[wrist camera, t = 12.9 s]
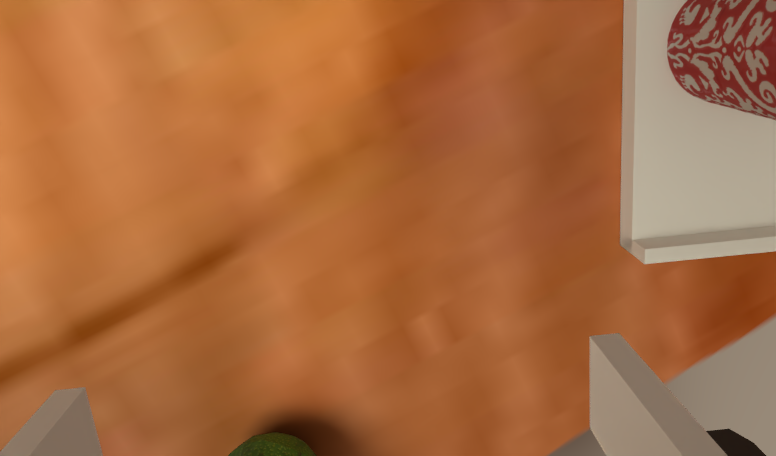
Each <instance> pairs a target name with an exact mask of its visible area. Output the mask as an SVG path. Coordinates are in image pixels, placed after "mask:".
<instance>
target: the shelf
mask: <svg viewBox="0 0 776 456" xmlns="http://www.w3.org/2000/svg"><path fill="white" fill-rule="evenodd" d="M686 1H687V0H624V17H623V82H622V147H621V211H620V245H621V246H622V247H623V248H624V249H626V250H627V251H628V252H630V253H631V254H632V255H633V256H635V257H636V258H637V259H639V260H640V261H641V262H642V263H644V264H651V263H661V262H671V261H681V260H692V259H702V258H712V257H722V256H732V255H742V254H752V253H763V252H773V251H776V120H772V119H769V118H766V117H762V116H758V115H754V114H751V113H746V112H743V111H739V110H736V109H733V108H729V107H725V106H721V105H718V104H713V103H710V102H706V101H703V100H701V99H699V98H696V97H694V96H693V95H691V94H689V93H688V92H687V91H685V90H684V89H683V88H682V87H681V86H680V85H679V83H678V82H677V81H676V80H675V77H674V75H673V74H672V71H671V69H670V66H669V62H668V58H667V44H668V42H667V39H668V35H669V32H670V29H671V25H672V23H673V21H674V18H675V16H676V15H677V13H678V12H679V10H680V9H681V7H682V6H683V5H684V4H685V3H686Z"/></svg>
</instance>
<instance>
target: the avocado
mask: <svg viewBox="0 0 776 456" xmlns="http://www.w3.org/2000/svg"><path fill="white" fill-rule="evenodd" d="M228 456H316V455H315V453H314V452H313V451H312V450H311V448H310V447H309V446H308V445H307V444H306V443H305V442H304V441H302V440H301V439H299V438H297V437H295V436H292V435H288V434H283V433H277V432H273V433H267V434H262V435H256V436H253V437H251V438H250V439H248V440H247V441H245V442H244V443H243V444H241V445H240V446H238V447H237V448H236V449H235V450H234V451H233V452H231V453H230V454H229V455H228Z"/></svg>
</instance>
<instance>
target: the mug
mask: <svg viewBox="0 0 776 456" xmlns="http://www.w3.org/2000/svg"><path fill="white" fill-rule="evenodd" d="M667 42H668V44H667V58H668V62H669V66H670V69H671V71H672V74H673V75H674V77H675V80H676V81H677V82H678V83H679V85H680V86H681V87H682V88H683V89H684V90H685V91H687V92H688V93H689V94H691V95H693V96H694V97H696V98H699V99H701V100H703V101H706V102H710V103H713V104H718V105H721V106H725V107H729V108H733V109H736V110H739V111H743V112H746V113H751V114H754V115H758V116H762V117H766V118H769V119H772V120H776V0H687V1H686V3H685V4H684V5H683V6H682V7H681V9H680V10H679V12H678V13H677V15H676V16H675V18H674V21H673V23H672V25H671V29H670V32H669V35H668V39H667Z"/></svg>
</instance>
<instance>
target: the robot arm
mask: <svg viewBox="0 0 776 456" xmlns="http://www.w3.org/2000/svg"><path fill="white" fill-rule="evenodd" d="M590 429H591V430H592V432H593V434H594V436H595V437H596V439H597V441H598V442H599V444H600V446H601V448H602V449H603V451H604V453H605V454H606V456H766V455H765V454H764V453H763V452H762V451H761V450H760V449H759V448H758V447H757V446H756V445H755V444H754V443H753V442H751V441H749V440H748V439H746V438H744V437H742V436H741V435H739V434H737V433H735V432H734V431H732V430H730V429H724V430H714V431H705V430H704V428H703V427H702V426H701V425H700V424H699V423H698V422H697V421H696V419H695V418H694V417H693V416H692V415H691V414H690V413H689V412H688V410H686V408H685V407H684V406H683V405H682V404H681V403H680V402H679V400H678V399H677V398H676V397H675V396H674V395H673V394H672V392H671V391H670V390H669V389H668V388H667V387H666V386H665V384H664V383H663V382H662V381H661V380H660V379H659V378H658V377H657V375H656V374H655V373H654V372H653V371H652V370H651V369H650V368H649V366H648V365H647V364H646V363H645V362H644V361H643V360H642V359H641V357H640V356H639V355H638V354H637V353H636V352H635V351H634V350H633V348H632V347H631V346H630V345H629V344H628V343H627V342H626V341H625V339H624V338H623V337H622V336H621V335H620V334H619V333H616V334H606V335H596V336H590ZM0 456H103V454H102V451H101V447H100V443H99V439H98V435H97V431H96V428H95V424H94V420H93V416H92V412H91V408H90V405H89V401H88V397H87V393H86V389H85V387H84V388H74V389H64V390H55V391H54V392H53V394H52V395H51V396H50V397H49V398H48V399H47V400H46V401H45V402H44V404H43V405H42V406H41V407H40V408H39V409H38V410H37V411H36V412H35V414H34V415H33V416H32V417H31V418H30V419H29V420H28V421H27V423H26V424H25V425H24V426H23V427H22V428H21V429H20V430H19V431H18V433H17V434H16V435H15V436H14V437H13V438H12V439H11V440H10V441H9V443H8V444H7V445H6V446H5V447H4V448H3V449H2V450H1V451H0Z"/></svg>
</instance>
